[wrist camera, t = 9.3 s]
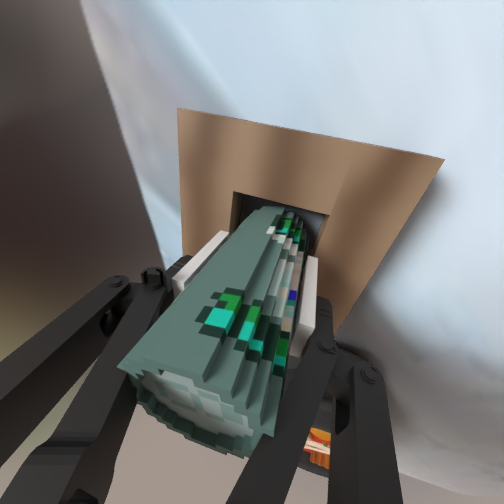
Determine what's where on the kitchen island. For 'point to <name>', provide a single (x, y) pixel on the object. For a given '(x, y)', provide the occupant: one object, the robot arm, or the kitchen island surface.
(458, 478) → the kitchen island surface
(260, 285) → the can
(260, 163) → the frame
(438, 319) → the kitchen island surface
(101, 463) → the robot arm
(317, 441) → the casserole
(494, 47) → the kitchen island surface
